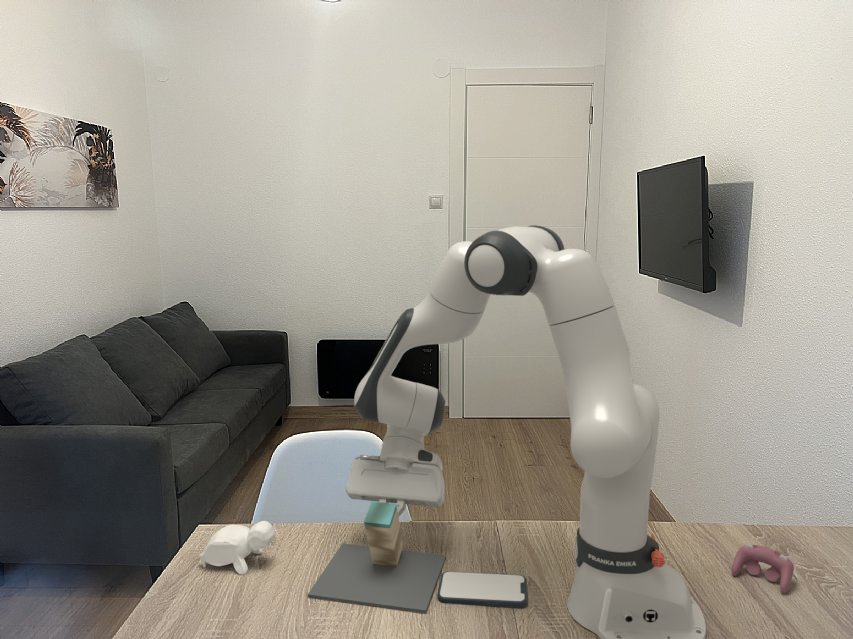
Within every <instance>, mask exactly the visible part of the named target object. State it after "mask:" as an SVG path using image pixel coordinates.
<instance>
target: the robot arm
mask: <svg viewBox="0 0 853 639" xmlns="http://www.w3.org/2000/svg"><path fill="white" fill-rule="evenodd" d="M564 246H565V245H564V243H563V240H562V239H561V237H560V236H559V235H558V234H557V233H556V232H555V231H553V230H552V229H550V228H548V227H546V226H541V225H535V224H534V225H532V224H531V225H528V226H517V225H514V226H508V227H504V228H501V229H500V228H499V229H498V230H492V231H487V232H486V233H483V234H482V235H480V236H477V238H476V239H475V240H473V241H471V240H470V241H469V240H464V241H459V242H456V243H454V244H452V245H451V246H450V247H449V249H448V250H447V251H446V254H445V255H444V257H443V259H442V261H441V262H440V264H439V267H438V268H437V271H436V272H435V275H434V276H433V278H432V282H431V284H430V287H429V290H428V292H427V294H426V296H425V297H424V298H423V299H422V301H421V302H420V303H419V304H417V305H416V306H414V307H411V308H407V309H405V310H404V311H403V312H402V313H401V315H399V318H398V319H397V320H396V322H395V323H394V326H393V327H392V329H390V330H391V331H389V334H387V337H386V339H385V341H384V342H383V344H382V346H381V348H380V349H379V351H378V353H377V355H376V356H375V358H374V361H373V362H372V364H371V366H370V367H369V369H368V370H367V372H366V374H364V376H363V378H362V379H361V380H360V382H359V383H358V385H357V387H356V390H355V392H354V400H353V407H354V409H355V410H356V412H357V414H358V415H359V416H360V418H361V419H362V420H363V421H367V422H371V423H381V424H385V425H386V428H387V429H386V433H385V435H384V437H383V440H382V444H381V450H380V455H366V454H360V455H359V456H357V457H355V458H354V459H353V460H352V461H351V467H350V473H349V476H348V478H347V482H346V486H345V493H346V495H348V497H349V498H350V499H352V500H357V501H358V500H359V501H368V502H369V501H370V502H371V501H372V502H382V503H392V504H396V506H397V511H398V517H399V518H400V516H401V515H402V514H403V513H404V511H405V510H406V507H407V505H409V506H410V505H411V506H419V507H430V508H440V507H442V505H443V504H444V502H445V491H446V490H445V488H446V486H445V480H444V476H443V466H444V465H443V463H442V460H441V458H440V456H439V454H437V453H435V452H434V451H431V450H427V449H425V446H424V445H425V444H424V440H425V439H424V437H425V436H429V435H431V434H433V433H434V432H435V431H437V430H439V429H440V428H441V426H442V424H443V419H444V413H445V407H446V400H445V398H444V395H443V393H442V392H441V391H440V389H439V388H436V387H434V386H430V385H426V384H423V383H419V382H414V381H410V380H407V379H402V378H399V377H396V376H393V375H392V374H393V372H394V370H395V369H396V368H397V366H398V363H399V362H400V361H401V359H402V357H403V355H404V354H405V353H406V352H407V351H409V350H410V349H413V348H417V347H421V346H427V345H447V344H453V343H456V342H460V341H463V340H465V339H467V338H468V337H469V336H471V335H472V334H473V333H474V332H475V331H476V329H477V327H478V325H479V324H480V321H481V319H482V317H483V315H484V313H485V310H486V308H487V304H488V302H489V299H490V297H491V295H492V296H494V295H495V296H517V297H524V296H526V295H527V294H528V293H532V294H533V295H534V296H536V298H537V299H538V300H539V301H540V304H541V305H542V308H543V310H544V314H545V317H546V320H547V324H548V326H549V330H550V333H551V335H552V336H551V337H552V338H553V339H552V340H553V342H554V346H555V349H556V352H557V356H558V358H559V361H560V365H561V368H562V372H563V377H564V384H565V392H566V399H567V400H566V401H567V407H568V413H569V420H570V428H571V429H570V432H571V433H570V452H571V454H572V456H573V459H574V460H575V463H576V464H577V465H578V466H579V467H580V468H581V469H582V470H583V471H584V475H583V479H582V482H581V485H580V486H581V487H580V505H579V506H580V508H579V527H577V530H576V536H575V547H574V548H575V550H574V551H575V552H574V553H575V554H574V558H575V564H576V569H575V574H574V578H573V581H572V582H573V583H572V587H571V589H570V593H569V595H568V598H567V601H566V604H567V605H566V607H567V611H568V612H569V614H570V616H571V617H572V618H573V619H574V620H575V621H576V622H577V623H578V624H579V625H581V626H582V627H584V628H585V629H587V630H589V631H591V632H592V633H594V634H595V635H597V636H598V637H599V639H706V638H707V637H706V636H707V627H706V626H707V625H706V620H705V616H704V614H703V611H702V609H701V607H700V606H699V604H698V603H697V601H696V600H695V599H694V598H693V597H692V596H691V593H690V590H689V587H688V585H687V584H686V581H685V579H684V578H683V576H682V575H681V573H679V572H678V571H677V570H676V569H674V568H673V567H671V566H670V565H669V564H668V563H666V560H665V558H664V556H665V555H664V553H663V552H662V551H661V550H660V546H659V545H660V544H659V543H658V542H657V540H656V538H655V536H654V534H653V533H651V536H649V535H648V527H649V526H648V525H649V523H648V522H649V507H650V496H651V488H652V481H653V476H654V475H653V473H654V468H655V463H656V462H655V460H656V452H657V444H658V434H659V427H660V426H659V424H660V408H659V404H658V401H657V400H656V398H655V397H654V394H653V393H652V392H650V391H649V390H648V389H647V388H645V387H643V386H642V385H640V384H637V383H634V382H633V377H632V376H633V375H632V369H631V362H630V361H631V359H630V358H631V354H630V349H629V345H628V342H627V340H626V335H625V333H624V329H623V326H622V324H621V320H620V316H619V315H618V312H617V308H616V305H615V301H614V298H613V296H612V293H611V291H610V289H609V287H608V284H607V282H606V279H605V277H604V275H603V273H602V271H601V269H600V267H599V266H598V264H597V261H596V260H595V259H594V257H593V256H592V255H591V254H590V252H588V251H586V250H583V249H579V248H565V247H564Z"/></svg>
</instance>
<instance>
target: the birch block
mask: <svg viewBox="0 0 853 639" xmlns="http://www.w3.org/2000/svg"><path fill="white" fill-rule="evenodd" d="M397 508H398V506H397V503H382V502H378V501H370V504H369V507H368V509H367V512H366V514H365V515H366V516H365V518H364V521H363V523H364V524H363V526H364V528H365V533H366V539H367V544H368V546H369V549H370V553H371V558H372V563H373V564H380V565H389V566H398V562H399V559H400V555H401V552H402V550H403V547H404V541H403V536H402V530H401V524H400V520H399V519H400V516H399V517H398V511H397Z"/></svg>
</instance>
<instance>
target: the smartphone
mask: <svg viewBox="0 0 853 639" xmlns="http://www.w3.org/2000/svg"><path fill="white" fill-rule="evenodd" d="M527 580H528V579H527V578H526V577H525V576H524V575H521V574H508V573H507V574H506V573H485V572H465V571H464V572H463V571H445V572H441V574H440V580H439V584H438V589H437V596H436V597H437V601H438V602H439V603H441V604H449V605H450V604H452V605H465V606H476V607H477V606H478V607H491V608H506V609H525V608H526V607H527V606H528V586H527V585H528V584H527V582H528V581H527Z"/></svg>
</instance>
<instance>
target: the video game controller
mask: <svg viewBox="0 0 853 639" xmlns="http://www.w3.org/2000/svg"><path fill="white" fill-rule="evenodd" d="M760 563H763V564H766V565H768V566H770V567H769V568H767V569H766V570H765V572H764V576H765V578H766V580H768V581H769V582H771V583H775V582H778V581H779V580H780V583H779V588H780V593H781V594H783V595H784V594H786V593H787V592H788V590H789V588H790V586H791V583H792V580H793V576H794V575H793V573H794V570H795V565H794V563H793V561H791V559H789V558H788V557H786V556H785V555H784V554H782V553H781V552H780V551H777V550H776V549H773V548H770V547H767V546H763V545H758V544H751V543H749V544H744V545H742V546H741V547H740V548H739V549H738V550H737V552H736V554H735V556H734V559H733V562H732V565H731V575H732V576H733V577H737V576H739V574H740V573H741V571H742V570H743V567H744V566H746V569H747V572H748V573H749V574H750V575H752V576H758V575H760V574H761V572H762V567H761V565H760Z"/></svg>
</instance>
